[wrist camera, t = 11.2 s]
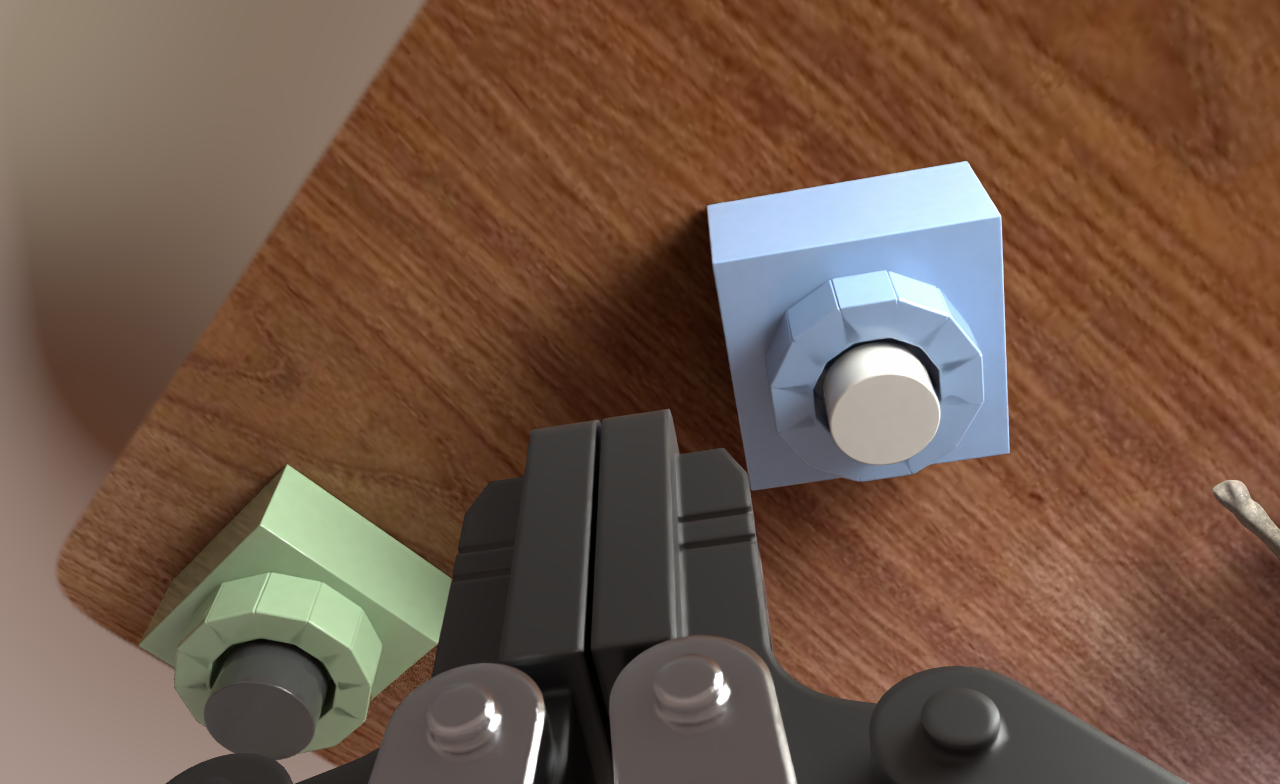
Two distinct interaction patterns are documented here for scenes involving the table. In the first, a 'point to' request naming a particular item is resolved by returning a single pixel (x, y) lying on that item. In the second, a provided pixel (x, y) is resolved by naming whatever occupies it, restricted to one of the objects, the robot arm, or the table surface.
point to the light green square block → (302, 601)
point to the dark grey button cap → (266, 699)
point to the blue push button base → (861, 313)
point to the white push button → (880, 403)
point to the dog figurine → (1248, 512)
